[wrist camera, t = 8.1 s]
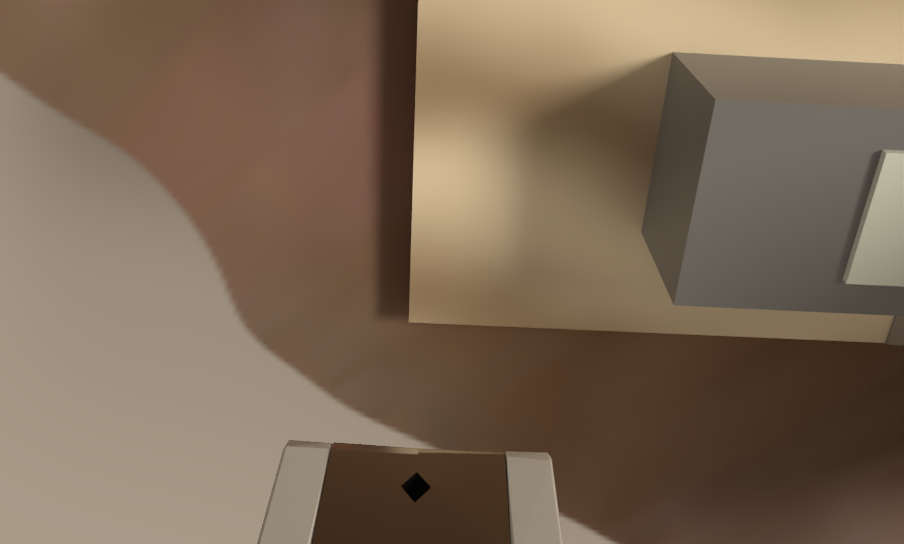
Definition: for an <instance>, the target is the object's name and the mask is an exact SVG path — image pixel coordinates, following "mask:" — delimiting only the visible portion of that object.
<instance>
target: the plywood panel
mask: <svg viewBox="0 0 904 544" xmlns="http://www.w3.org/2000/svg"><path fill="white" fill-rule="evenodd" d="M673 52H679V53H698V54H717V55H735V56H754V57H773V58H791V59H810V60H829V61H847V62H866V63H885V64H903V65H904V0H418V21H417V55H416V90H415V124H414V158H413V193H412V227H411V261H410V296H409V322H412V323H435V324H458V325H481V326H504V327H527V328H550V329H573V330H596V331H619V332H642V333H666V334H689V335H712V336H735V337H758V338H781V339H804V340H827V341H850V342H873V343H885V344H886V345H902V346H904V316H890V315H869V314H848V313H826V312H805V311H784V310H763V309H741V308H720V307H699V306H678V305H673V303H672V301H671V298H670V296H669V294H668V291H667V289H666V287H665V285H664V282H663V280H662V278H661V276H660V273H659V271H658V269H657V267H656V264H655V262H654V260H653V258H652V255H651V253H650V251H649V249H648V246H647V244H646V242H645V240H644V237H643V235H642V233H641V231H642V225H643V219H644V213H645V208H646V202H647V196H648V190H649V185H650V179H651V173H652V168H653V162H654V156H655V150H656V145H657V139H658V133H659V127H660V122H661V116H662V110H663V105H664V99H665V93H666V87H667V82H668V76H669V70H670V64H671V59H672V53H673Z"/></svg>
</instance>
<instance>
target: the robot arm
mask: <svg viewBox="0 0 904 544" xmlns="http://www.w3.org/2000/svg"><path fill="white" fill-rule="evenodd" d="M257 544H563V541H562V533H561V526H560V518H559V511H558V503H557V496H556V488H555V481H554V474H553V466H552V459H551V457H550V456H549V454H548V453H547V452H514V451H505V453H503V452H491V451H467V450H442V449H418V448H403V447H389V446H376V445H362V444H348V443H347V444H346V443H333V444H331V443H322V442H321V443H320V442H308V441H293V440H289V442H288V443H287V445H286V446H285V448H284V449H283V453H282V457H281V460H280V464H279V467H278V471H277V474H276V478H275V482H274V485H273V489H272V492H271V496H270V499H269V503H268V507H267V510H266V514H265V518H264V521H263V525H262V529H261V532H260V536H259V539H258V543H257Z"/></svg>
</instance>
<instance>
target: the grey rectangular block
mask: <svg viewBox="0 0 904 544" xmlns="http://www.w3.org/2000/svg"><path fill="white" fill-rule="evenodd" d="M641 233H642V235H643V237H644V240H645V242H646V244H647V246H648V249H649V251H650V253H651V255H652V258H653V260H654V262H655V264H656V267H657V269H658V271H659V273H660V276H661V278H662V280H663V282H664V285H665V287H666V289H667V291H668V294H669V296H670V298H671V301H672V303H673V305H678V306H699V307H720V308H741V309H763V310H784V311H805V312H826V313H848V314H869V315H890V316H904V65H903V64H885V63H866V62H847V61H829V60H810V59H791V58H773V57H754V56H735V55H717V54H698V53H679V52H673V53H672V59H671V64H670V70H669V76H668V82H667V87H666V93H665V99H664V105H663V110H662V116H661V122H660V127H659V133H658V139H657V145H656V150H655V156H654V162H653V168H652V173H651V179H650V185H649V190H648V196H647V202H646V208H645V213H644V219H643V225H642V231H641Z"/></svg>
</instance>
